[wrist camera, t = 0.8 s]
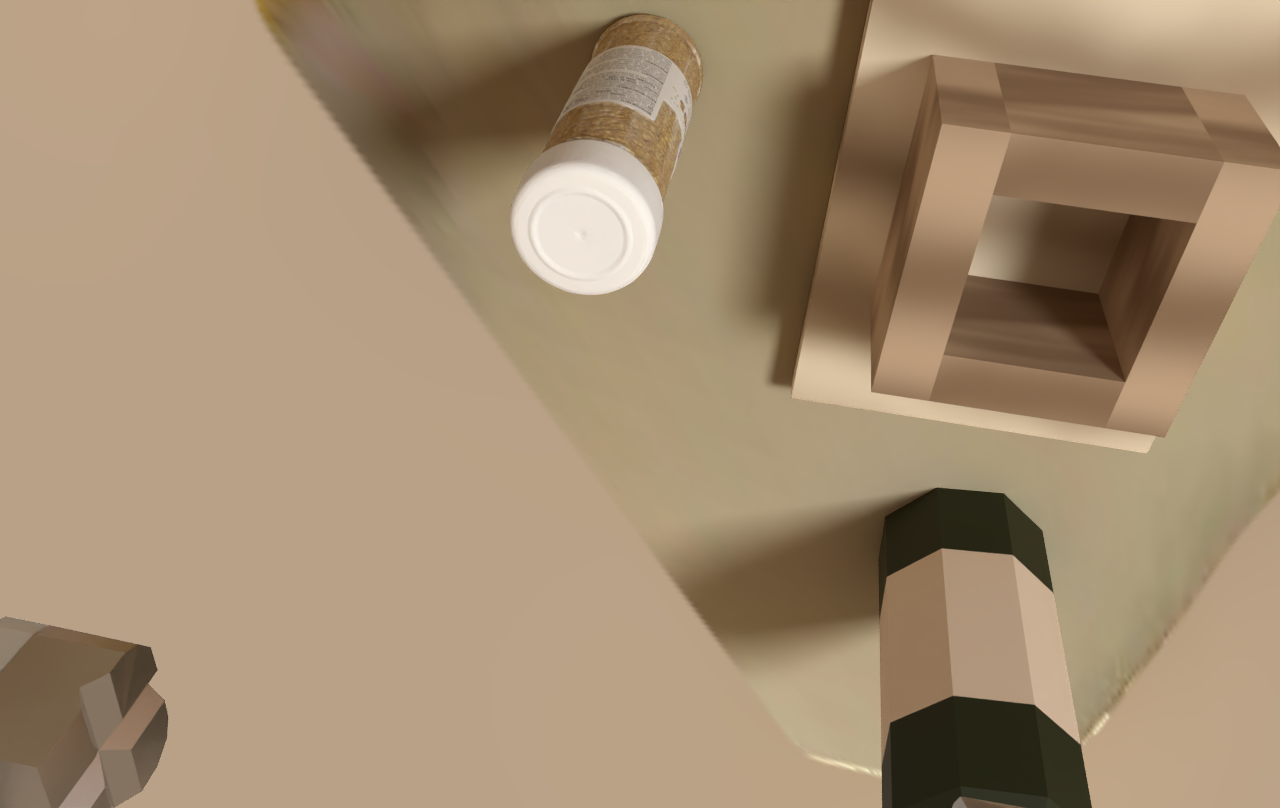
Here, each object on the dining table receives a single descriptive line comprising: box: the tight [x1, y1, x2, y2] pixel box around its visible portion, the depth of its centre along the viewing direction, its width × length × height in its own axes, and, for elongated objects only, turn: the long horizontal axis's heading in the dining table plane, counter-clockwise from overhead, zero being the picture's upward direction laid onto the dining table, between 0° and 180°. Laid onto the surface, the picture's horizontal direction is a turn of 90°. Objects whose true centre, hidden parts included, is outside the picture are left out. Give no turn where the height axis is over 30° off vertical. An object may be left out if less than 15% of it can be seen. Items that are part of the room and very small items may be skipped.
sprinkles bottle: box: [509, 14, 703, 295], centre depth 38 cm, size 5×5×13 cm
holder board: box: [791, 0, 1280, 453], centre depth 41 cm, size 22×16×8 cm
